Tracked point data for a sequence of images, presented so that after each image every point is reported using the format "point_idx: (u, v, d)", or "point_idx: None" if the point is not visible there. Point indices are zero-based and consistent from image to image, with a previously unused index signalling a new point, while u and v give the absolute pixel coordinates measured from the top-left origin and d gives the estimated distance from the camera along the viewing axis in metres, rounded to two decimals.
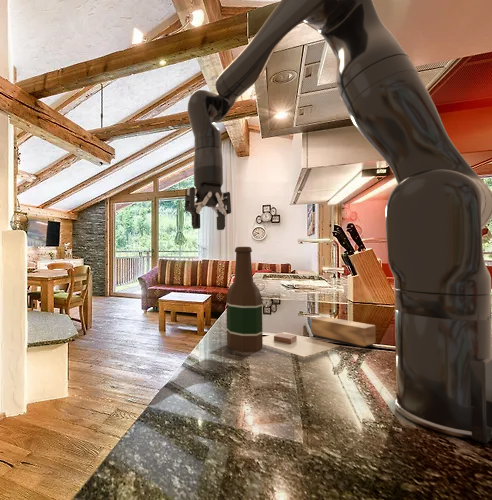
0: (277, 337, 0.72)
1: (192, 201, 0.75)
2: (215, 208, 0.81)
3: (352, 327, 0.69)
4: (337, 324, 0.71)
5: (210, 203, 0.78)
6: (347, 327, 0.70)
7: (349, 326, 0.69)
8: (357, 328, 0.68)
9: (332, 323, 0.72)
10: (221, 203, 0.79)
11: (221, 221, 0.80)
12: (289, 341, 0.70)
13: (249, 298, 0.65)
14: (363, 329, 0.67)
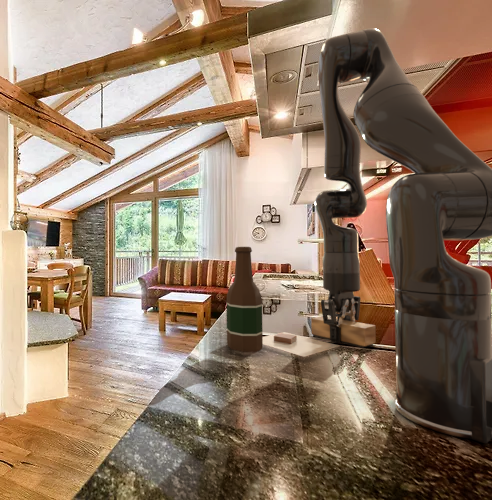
0: (277, 337, 0.72)
1: (334, 317, 0.69)
2: None
3: (352, 327, 0.69)
4: None
5: None
6: (347, 327, 0.70)
7: (349, 326, 0.69)
8: (357, 328, 0.68)
9: None
10: (354, 310, 0.73)
11: None
12: (289, 341, 0.70)
13: (249, 298, 0.65)
14: (363, 329, 0.67)
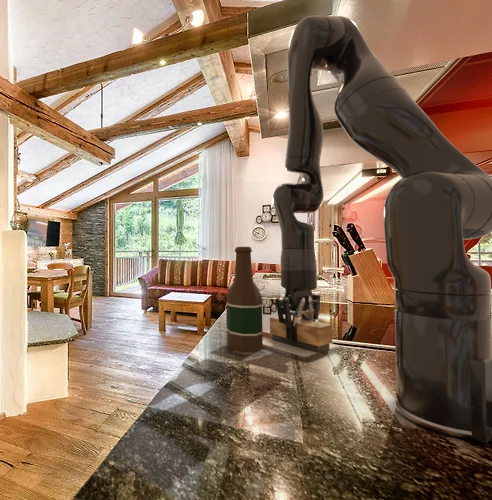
0: (263, 332, 0.77)
1: (288, 316, 0.66)
2: (302, 312, 0.71)
3: (307, 326, 0.66)
4: None
5: (302, 309, 0.69)
6: (302, 326, 0.67)
7: (304, 325, 0.66)
8: (312, 327, 0.65)
9: None
10: (311, 309, 0.70)
11: None
12: None
13: (249, 298, 0.65)
14: (317, 329, 0.64)
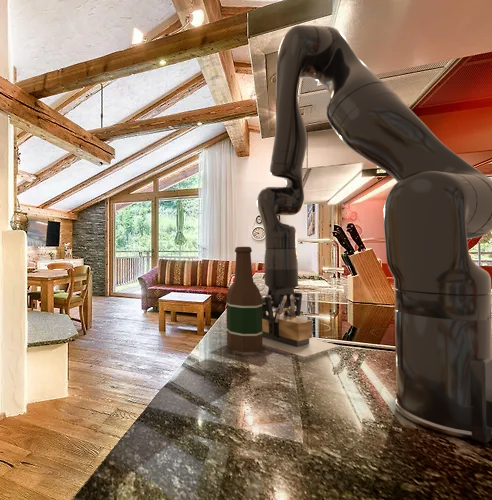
0: None
1: (270, 312, 0.70)
2: (284, 309, 0.75)
3: (288, 322, 0.69)
4: None
5: (284, 306, 0.73)
6: (284, 322, 0.70)
7: (286, 321, 0.70)
8: (292, 323, 0.69)
9: None
10: (293, 306, 0.74)
11: None
12: None
13: (249, 298, 0.65)
14: (297, 324, 0.68)
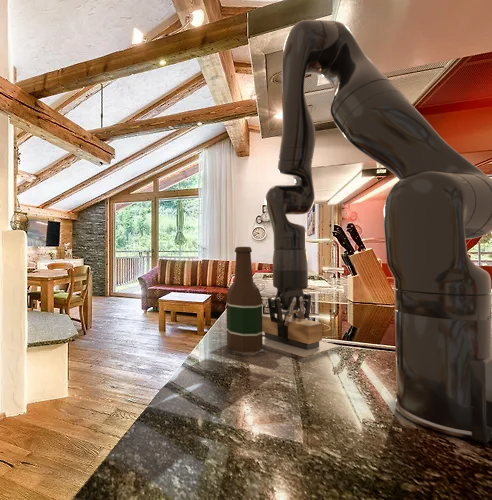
0: None
1: (280, 315, 0.68)
2: (293, 311, 0.73)
3: (298, 325, 0.67)
4: None
5: (293, 308, 0.71)
6: (293, 324, 0.68)
7: (295, 323, 0.68)
8: (302, 326, 0.66)
9: None
10: (302, 308, 0.71)
11: None
12: None
13: (249, 298, 0.65)
14: (307, 327, 0.65)
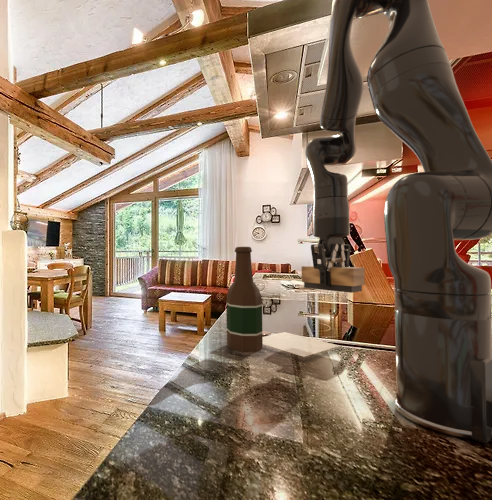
0: None
1: (323, 260, 0.69)
2: None
3: (341, 269, 0.69)
4: None
5: None
6: (336, 270, 0.70)
7: (338, 268, 0.69)
8: (346, 269, 0.68)
9: None
10: (343, 256, 0.73)
11: None
12: None
13: (249, 298, 0.65)
14: (352, 270, 0.67)
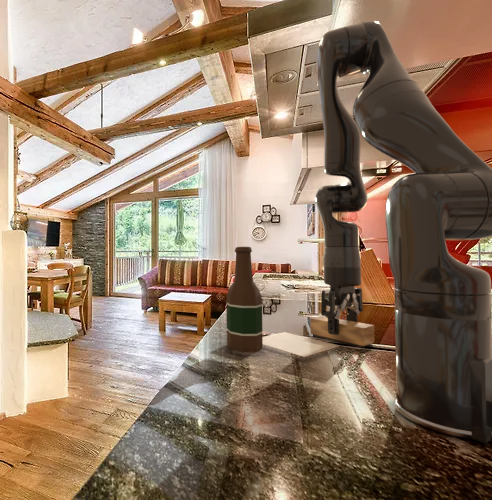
0: None
1: (332, 308, 0.68)
2: (346, 306, 0.75)
3: (351, 327, 0.69)
4: None
5: (346, 305, 0.72)
6: (346, 327, 0.70)
7: (348, 326, 0.69)
8: (356, 328, 0.68)
9: None
10: (356, 303, 0.73)
11: (354, 321, 0.74)
12: None
13: (249, 298, 0.65)
14: (362, 329, 0.67)
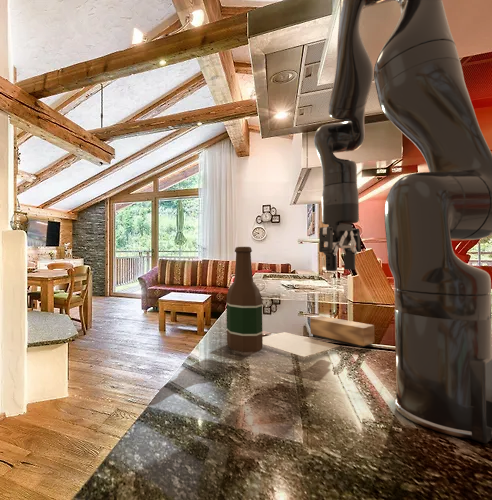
0: None
1: (330, 242, 0.69)
2: (344, 246, 0.75)
3: (351, 327, 0.69)
4: (336, 324, 0.72)
5: (344, 242, 0.72)
6: (346, 327, 0.70)
7: (348, 326, 0.69)
8: (356, 328, 0.68)
9: (331, 323, 0.73)
10: (354, 242, 0.73)
11: (351, 261, 0.75)
12: None
13: (249, 298, 0.65)
14: (362, 329, 0.67)
